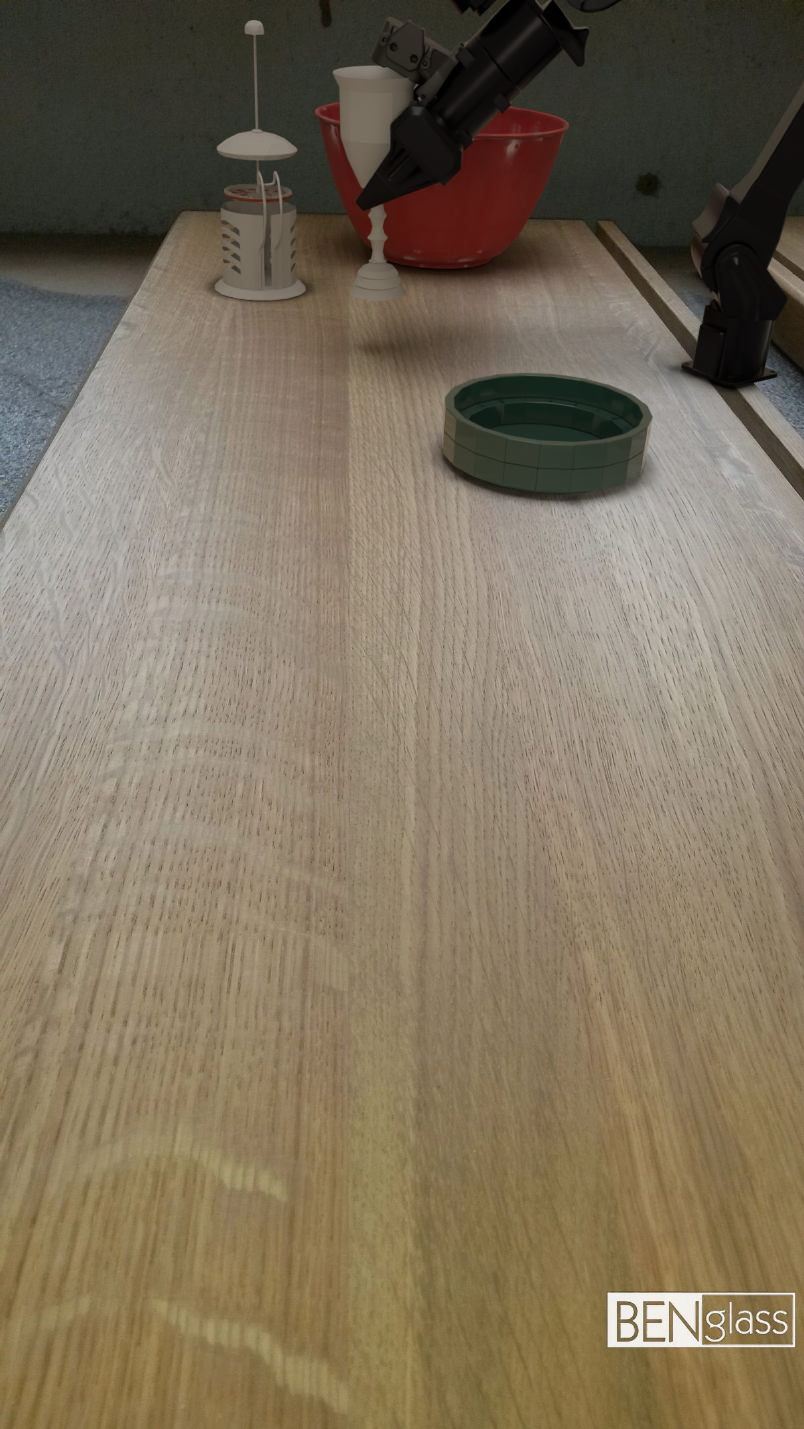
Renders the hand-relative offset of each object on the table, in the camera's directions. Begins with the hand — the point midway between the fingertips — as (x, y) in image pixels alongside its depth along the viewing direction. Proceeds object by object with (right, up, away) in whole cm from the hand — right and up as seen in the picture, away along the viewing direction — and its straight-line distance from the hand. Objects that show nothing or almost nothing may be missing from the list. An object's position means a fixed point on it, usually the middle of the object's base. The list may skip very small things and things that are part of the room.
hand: (362, 199), depth 106 cm
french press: (-11, 0, +23) cm, 26 cm away
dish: (+14, -25, -13) cm, 32 cm away
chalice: (+1, -7, +5) cm, 8 cm away
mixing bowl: (+7, +10, +39) cm, 41 cm away
